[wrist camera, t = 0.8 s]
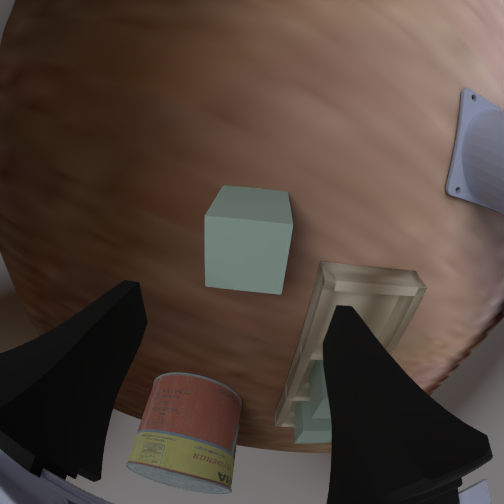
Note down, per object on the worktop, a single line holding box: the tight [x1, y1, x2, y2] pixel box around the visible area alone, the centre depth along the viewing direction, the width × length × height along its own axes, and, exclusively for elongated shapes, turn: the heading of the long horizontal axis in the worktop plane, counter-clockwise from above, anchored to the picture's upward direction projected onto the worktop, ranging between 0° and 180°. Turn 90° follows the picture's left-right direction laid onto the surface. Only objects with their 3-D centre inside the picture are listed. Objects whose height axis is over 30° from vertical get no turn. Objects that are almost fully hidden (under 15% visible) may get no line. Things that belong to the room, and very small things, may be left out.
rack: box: [275, 262, 427, 427], centre depth 23 cm, size 8×23×2 cm, turn 175°
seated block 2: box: [295, 401, 332, 443], centre depth 25 cm, size 4×4×5 cm
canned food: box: [126, 372, 242, 494], centre depth 24 cm, size 11×11×12 cm
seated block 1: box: [309, 360, 331, 418], centre depth 22 cm, size 4×4×5 cm
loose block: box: [205, 185, 293, 295], centre depth 15 cm, size 4×4×5 cm
